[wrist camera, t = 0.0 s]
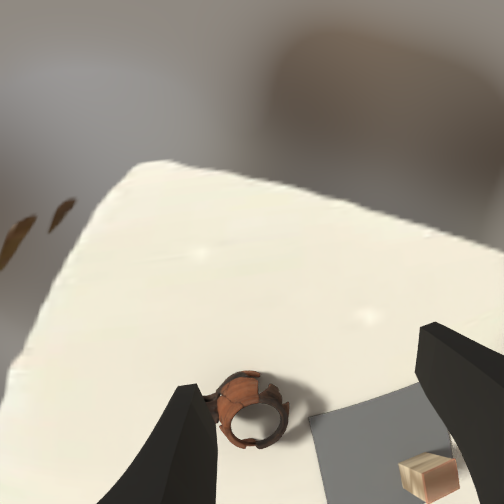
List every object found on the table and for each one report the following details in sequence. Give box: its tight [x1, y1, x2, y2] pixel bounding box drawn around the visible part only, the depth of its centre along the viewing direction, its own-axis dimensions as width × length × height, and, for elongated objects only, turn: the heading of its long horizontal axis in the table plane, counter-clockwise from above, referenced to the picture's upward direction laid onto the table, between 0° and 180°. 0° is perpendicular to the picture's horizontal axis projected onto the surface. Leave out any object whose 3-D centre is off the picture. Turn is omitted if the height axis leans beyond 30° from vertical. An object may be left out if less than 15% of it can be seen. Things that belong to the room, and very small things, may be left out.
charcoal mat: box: [308, 382, 453, 504], centre depth 32 cm, size 18×18×1 cm
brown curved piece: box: [203, 371, 289, 449], centre depth 36 cm, size 12×10×8 cm
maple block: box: [398, 452, 460, 504], centre depth 26 cm, size 4×4×9 cm
